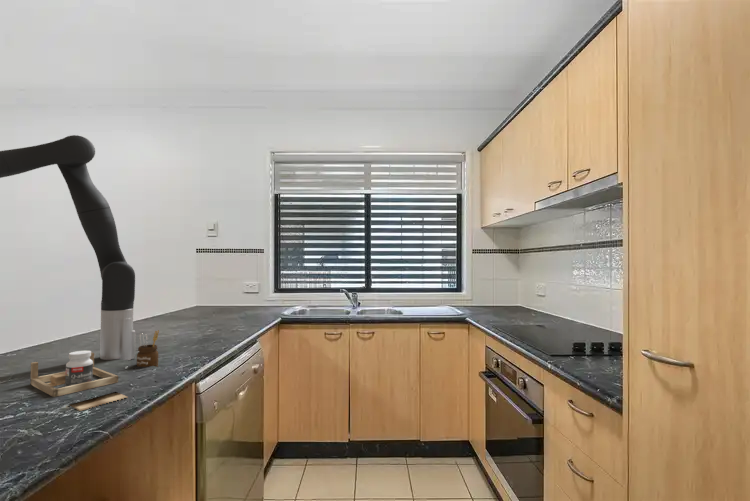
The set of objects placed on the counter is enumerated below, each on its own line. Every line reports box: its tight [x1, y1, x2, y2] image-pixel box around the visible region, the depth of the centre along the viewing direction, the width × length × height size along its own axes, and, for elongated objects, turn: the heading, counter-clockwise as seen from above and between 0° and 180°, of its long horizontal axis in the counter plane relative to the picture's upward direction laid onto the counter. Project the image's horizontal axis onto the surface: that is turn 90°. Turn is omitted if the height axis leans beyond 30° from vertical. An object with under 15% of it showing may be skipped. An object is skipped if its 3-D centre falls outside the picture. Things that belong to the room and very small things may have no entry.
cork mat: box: [68, 391, 129, 412], centre depth 96 cm, size 10×10×1 cm
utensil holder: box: [136, 330, 160, 368], centre depth 123 cm, size 6×6×12 cm
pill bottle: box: [64, 350, 94, 387], centre depth 103 cm, size 6×6×10 cm
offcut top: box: [50, 373, 66, 386], centre depth 106 cm, size 7×3×2 cm, turn 149°
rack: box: [29, 352, 119, 398], centre depth 104 cm, size 14×16×7 cm
